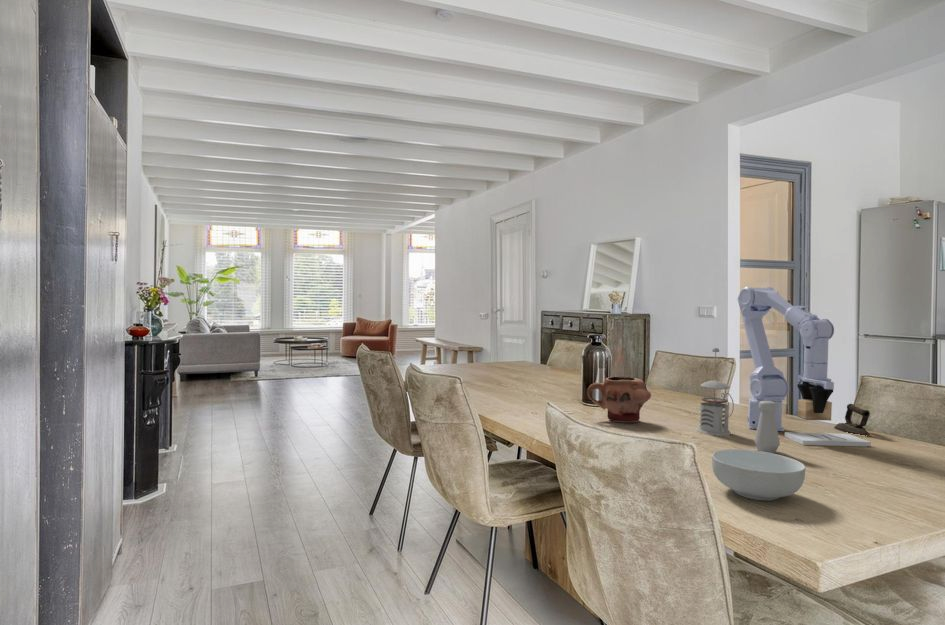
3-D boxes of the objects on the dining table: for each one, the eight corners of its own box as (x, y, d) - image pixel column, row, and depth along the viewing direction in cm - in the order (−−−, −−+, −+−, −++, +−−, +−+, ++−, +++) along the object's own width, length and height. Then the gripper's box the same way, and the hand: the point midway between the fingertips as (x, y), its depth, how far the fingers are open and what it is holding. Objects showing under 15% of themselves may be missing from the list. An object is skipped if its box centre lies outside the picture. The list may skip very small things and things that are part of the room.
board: (802, 444, 159) (802, 440, 159) (784, 436, 169) (784, 432, 169) (870, 446, 158) (870, 442, 158) (848, 437, 168) (848, 433, 168)
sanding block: (805, 419, 161) (805, 401, 161) (797, 416, 165) (798, 399, 165) (831, 420, 161) (831, 402, 160) (822, 417, 165) (823, 399, 164)
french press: (715, 427, 179) (717, 346, 179) (744, 436, 168) (746, 349, 168) (688, 429, 176) (690, 346, 176) (716, 438, 165) (718, 350, 165)
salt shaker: (778, 450, 152) (780, 400, 152) (780, 455, 147) (781, 404, 147) (754, 447, 155) (755, 398, 155) (754, 452, 150) (755, 402, 149)
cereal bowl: (761, 514, 106) (762, 475, 106) (693, 486, 121) (693, 452, 121) (824, 502, 113) (825, 466, 112) (752, 478, 128) (753, 445, 128)
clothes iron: (856, 430, 181) (865, 400, 179) (876, 447, 171) (885, 416, 168) (832, 427, 182) (841, 397, 179) (851, 444, 171) (860, 413, 169)
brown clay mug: (589, 423, 182) (590, 379, 182) (584, 416, 194) (584, 374, 194) (654, 425, 181) (655, 380, 181) (644, 417, 193) (645, 375, 193)
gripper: (846, 366, 155) (844, 416, 155) (815, 360, 169) (814, 406, 170) (819, 365, 155) (817, 416, 156) (791, 359, 170) (789, 406, 170)
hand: (814, 411), depth 163 cm, fingers closed on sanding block, 4 cm apart
